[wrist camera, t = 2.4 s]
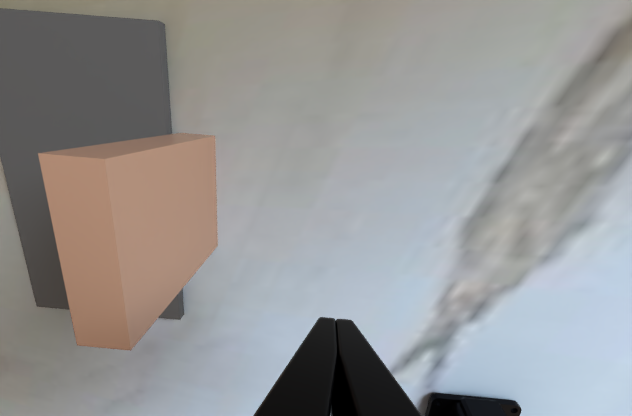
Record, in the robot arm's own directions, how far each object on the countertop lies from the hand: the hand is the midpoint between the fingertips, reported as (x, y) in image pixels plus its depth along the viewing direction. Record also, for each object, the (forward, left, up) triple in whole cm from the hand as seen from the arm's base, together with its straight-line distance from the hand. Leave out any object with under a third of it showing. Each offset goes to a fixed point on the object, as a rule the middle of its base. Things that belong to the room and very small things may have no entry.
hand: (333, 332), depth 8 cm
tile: (0, +8, -11) cm, 14 cm away
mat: (0, +15, -11) cm, 18 cm away
